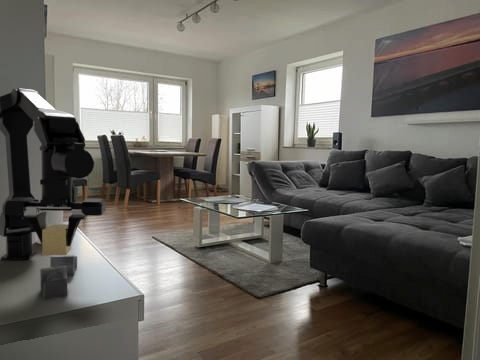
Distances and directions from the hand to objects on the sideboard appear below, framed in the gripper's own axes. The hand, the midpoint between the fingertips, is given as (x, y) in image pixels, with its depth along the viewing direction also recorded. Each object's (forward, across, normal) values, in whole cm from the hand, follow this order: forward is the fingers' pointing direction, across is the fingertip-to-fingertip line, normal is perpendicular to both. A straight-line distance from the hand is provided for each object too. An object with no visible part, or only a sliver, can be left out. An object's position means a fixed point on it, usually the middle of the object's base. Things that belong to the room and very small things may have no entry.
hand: (57, 246), depth 78 cm
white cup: (+8, +11, -32) cm, 35 cm away
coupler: (+1, 0, 0) cm, 1 cm away
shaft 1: (+8, -1, +6) cm, 10 cm away
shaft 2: (+8, 0, -6) cm, 10 cm away
